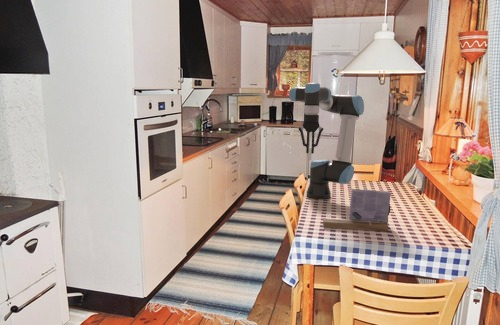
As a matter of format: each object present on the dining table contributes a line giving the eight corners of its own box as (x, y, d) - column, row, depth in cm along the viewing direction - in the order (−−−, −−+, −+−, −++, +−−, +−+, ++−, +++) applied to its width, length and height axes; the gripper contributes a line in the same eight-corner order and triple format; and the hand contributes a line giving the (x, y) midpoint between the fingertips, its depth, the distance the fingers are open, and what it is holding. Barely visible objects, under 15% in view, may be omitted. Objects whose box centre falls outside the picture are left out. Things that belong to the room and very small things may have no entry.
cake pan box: (388, 224, 187) (390, 190, 184) (390, 228, 182) (392, 193, 179) (348, 221, 190) (350, 188, 187) (349, 225, 186) (351, 190, 182)
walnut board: (323, 224, 187) (323, 218, 186) (385, 228, 182) (386, 222, 181) (323, 227, 182) (323, 221, 181) (387, 231, 177) (388, 225, 176)
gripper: (298, 114, 187) (296, 160, 192) (324, 114, 185) (322, 161, 189) (298, 113, 194) (297, 157, 199) (324, 113, 192) (322, 158, 197)
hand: (309, 159), depth 194 cm, fingers closed
